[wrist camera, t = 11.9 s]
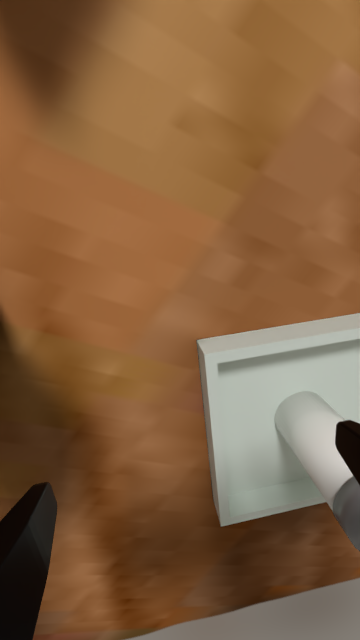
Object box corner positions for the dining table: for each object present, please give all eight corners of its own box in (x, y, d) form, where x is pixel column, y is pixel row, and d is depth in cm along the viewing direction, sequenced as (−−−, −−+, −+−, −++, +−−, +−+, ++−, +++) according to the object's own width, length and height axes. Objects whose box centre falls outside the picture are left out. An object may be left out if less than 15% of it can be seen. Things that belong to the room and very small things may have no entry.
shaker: (272, 441, 24) (346, 562, 15) (273, 395, 22) (356, 500, 14) (324, 432, 24) (423, 543, 16) (328, 385, 23) (440, 481, 14)
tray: (213, 499, 26) (221, 526, 23) (196, 340, 21) (204, 354, 18) (371, 463, 27) (394, 486, 25) (392, 307, 22) (422, 317, 20)
